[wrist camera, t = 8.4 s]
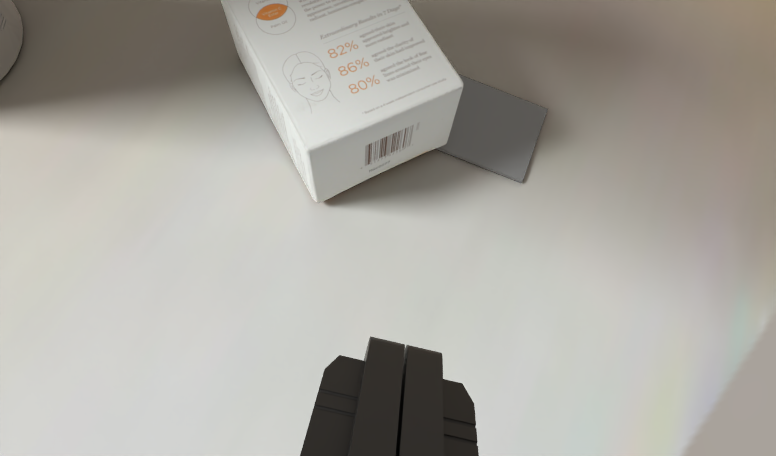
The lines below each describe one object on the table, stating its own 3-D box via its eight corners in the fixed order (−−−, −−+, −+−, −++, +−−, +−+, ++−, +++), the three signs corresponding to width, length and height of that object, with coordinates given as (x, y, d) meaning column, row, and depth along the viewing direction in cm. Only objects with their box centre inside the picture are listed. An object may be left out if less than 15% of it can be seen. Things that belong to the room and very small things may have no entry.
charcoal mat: (334, 108, 31) (334, 106, 31) (369, 41, 33) (369, 39, 33) (521, 183, 31) (522, 181, 31) (546, 110, 33) (547, 109, 32)
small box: (450, 146, 31) (363, 6, 34) (468, 83, 25) (363, -75, 29) (313, 207, 29) (235, 54, 32) (302, 153, 24) (211, -23, 27)
